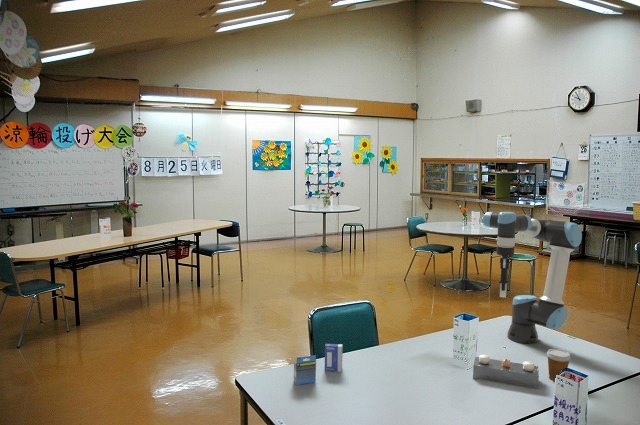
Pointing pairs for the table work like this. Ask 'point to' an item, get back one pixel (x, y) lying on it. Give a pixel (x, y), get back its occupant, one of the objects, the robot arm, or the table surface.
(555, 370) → the disposable coffee cup
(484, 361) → the knob
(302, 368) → the label tape box
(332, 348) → the walkman
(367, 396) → the table surface
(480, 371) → the console
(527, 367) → the knob
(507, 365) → the dial
